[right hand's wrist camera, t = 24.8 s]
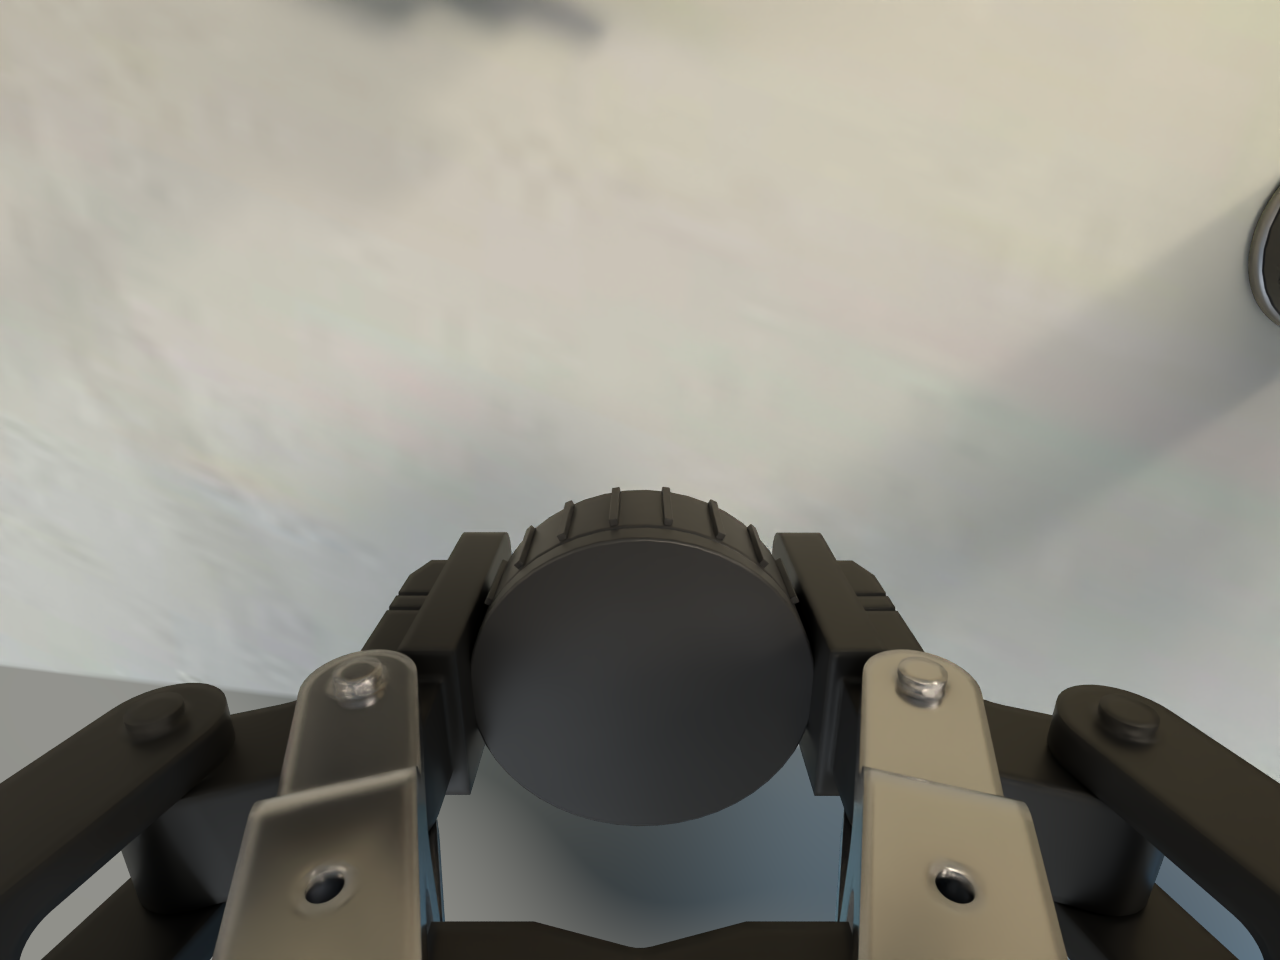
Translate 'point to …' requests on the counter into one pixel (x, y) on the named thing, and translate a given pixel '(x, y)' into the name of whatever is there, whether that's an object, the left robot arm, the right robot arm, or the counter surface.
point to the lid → (642, 660)
